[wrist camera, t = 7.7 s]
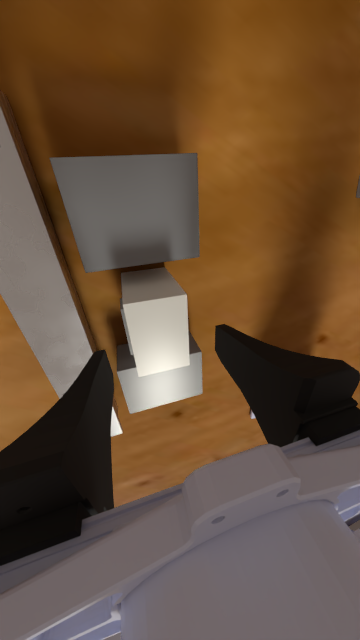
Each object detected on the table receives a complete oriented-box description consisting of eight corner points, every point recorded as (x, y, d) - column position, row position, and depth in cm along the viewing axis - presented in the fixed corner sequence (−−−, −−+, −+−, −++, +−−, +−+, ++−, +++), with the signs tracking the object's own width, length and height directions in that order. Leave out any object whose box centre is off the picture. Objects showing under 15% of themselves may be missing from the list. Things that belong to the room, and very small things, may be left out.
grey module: (164, 267, 19) (186, 294, 13) (169, 322, 22) (189, 365, 16) (117, 273, 18) (117, 305, 12) (129, 329, 21) (134, 378, 15)
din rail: (16, 96, 12) (-18, 57, 9) (121, 407, 26) (122, 433, 23) (-67, 94, 11) (-137, 51, 8) (89, 416, 25) (85, 444, 22)
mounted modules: (183, 165, 15) (201, 153, 12) (193, 368, 26) (204, 392, 22) (66, 170, 14) (49, 157, 10) (128, 385, 24) (130, 414, 21)
